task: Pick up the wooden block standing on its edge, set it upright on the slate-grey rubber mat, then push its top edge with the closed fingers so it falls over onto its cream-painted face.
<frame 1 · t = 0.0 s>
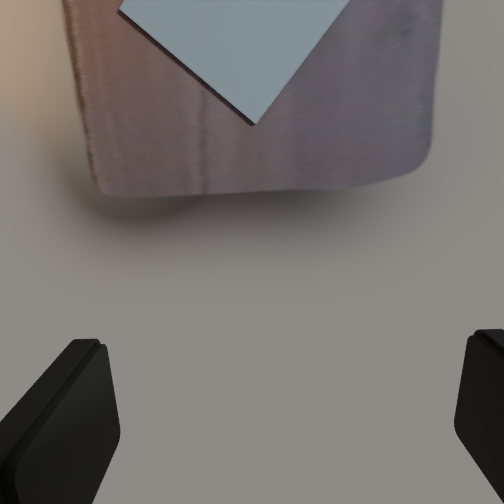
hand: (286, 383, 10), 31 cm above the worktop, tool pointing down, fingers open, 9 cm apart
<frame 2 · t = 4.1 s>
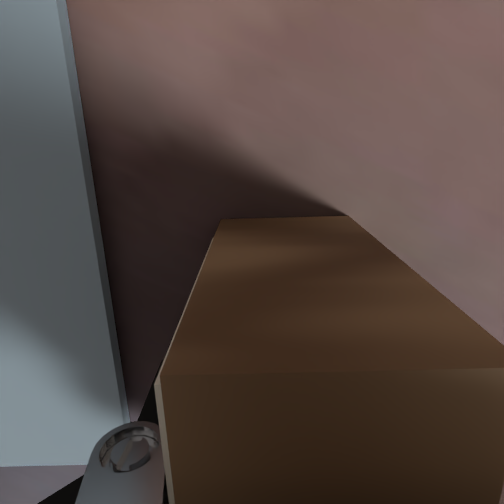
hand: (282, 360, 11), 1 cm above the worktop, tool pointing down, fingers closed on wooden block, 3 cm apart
wooden block: (284, 345, 11), on the worktop, touching gripper
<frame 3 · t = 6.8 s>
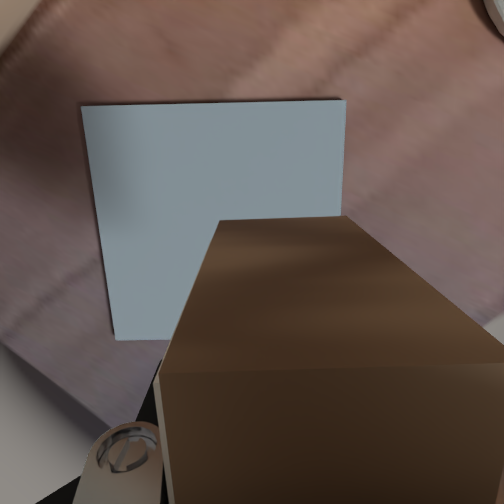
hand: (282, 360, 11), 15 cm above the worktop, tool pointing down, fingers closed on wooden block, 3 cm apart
wooden block: (284, 345, 11), point 14 cm above the worktop, touching gripper
rubber mat: (220, 230, 25), on the worktop
when the fingers open (2 cm above the worktop, at t = 9.5 s): wooden block stays where it is, resting on rubber mat.
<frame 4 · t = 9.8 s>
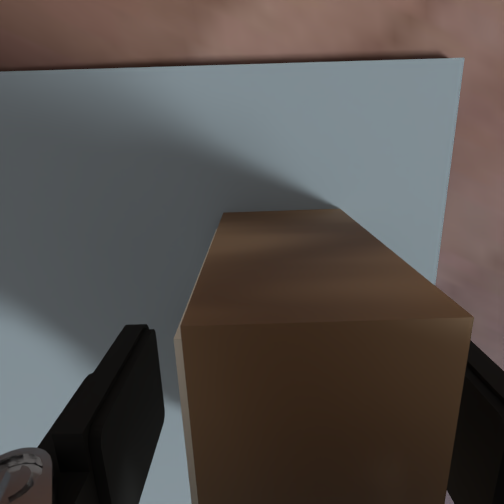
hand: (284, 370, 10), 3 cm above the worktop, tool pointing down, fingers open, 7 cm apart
wooden block: (282, 329, 12), resting on rubber mat
rubber mat: (190, 324, 13), on the worktop
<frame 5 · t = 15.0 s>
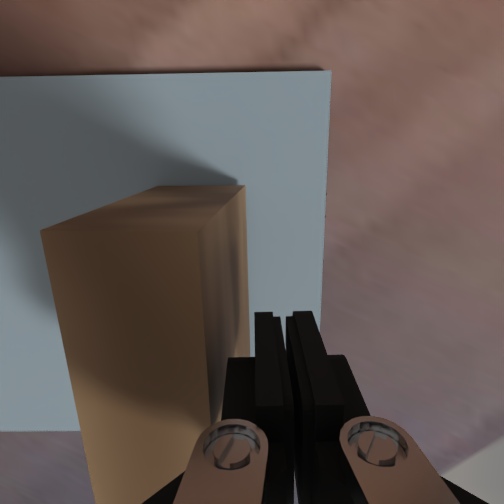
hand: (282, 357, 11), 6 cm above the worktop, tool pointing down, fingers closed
wooden block: (207, 280, 16), point 1 cm above the worktop, tilted 7°, touching rubber mat
rubber mat: (138, 275, 16), on the worktop
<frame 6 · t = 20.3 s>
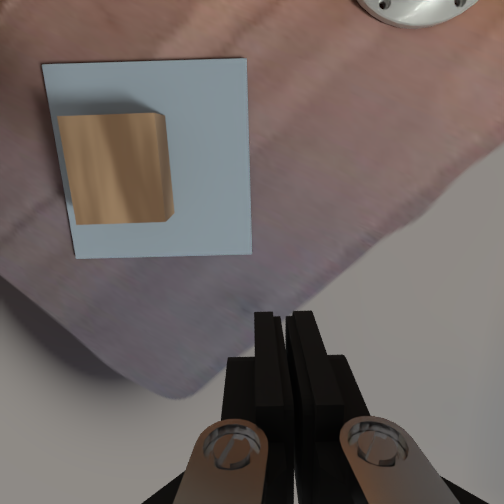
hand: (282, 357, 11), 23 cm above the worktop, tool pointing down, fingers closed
wooden block: (165, 167, 29), point 2 cm above the worktop, tilted 90°, touching rubber mat
rubber mat: (156, 165, 32), on the worktop
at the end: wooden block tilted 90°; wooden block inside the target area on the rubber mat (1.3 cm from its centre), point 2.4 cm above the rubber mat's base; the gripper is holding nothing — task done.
